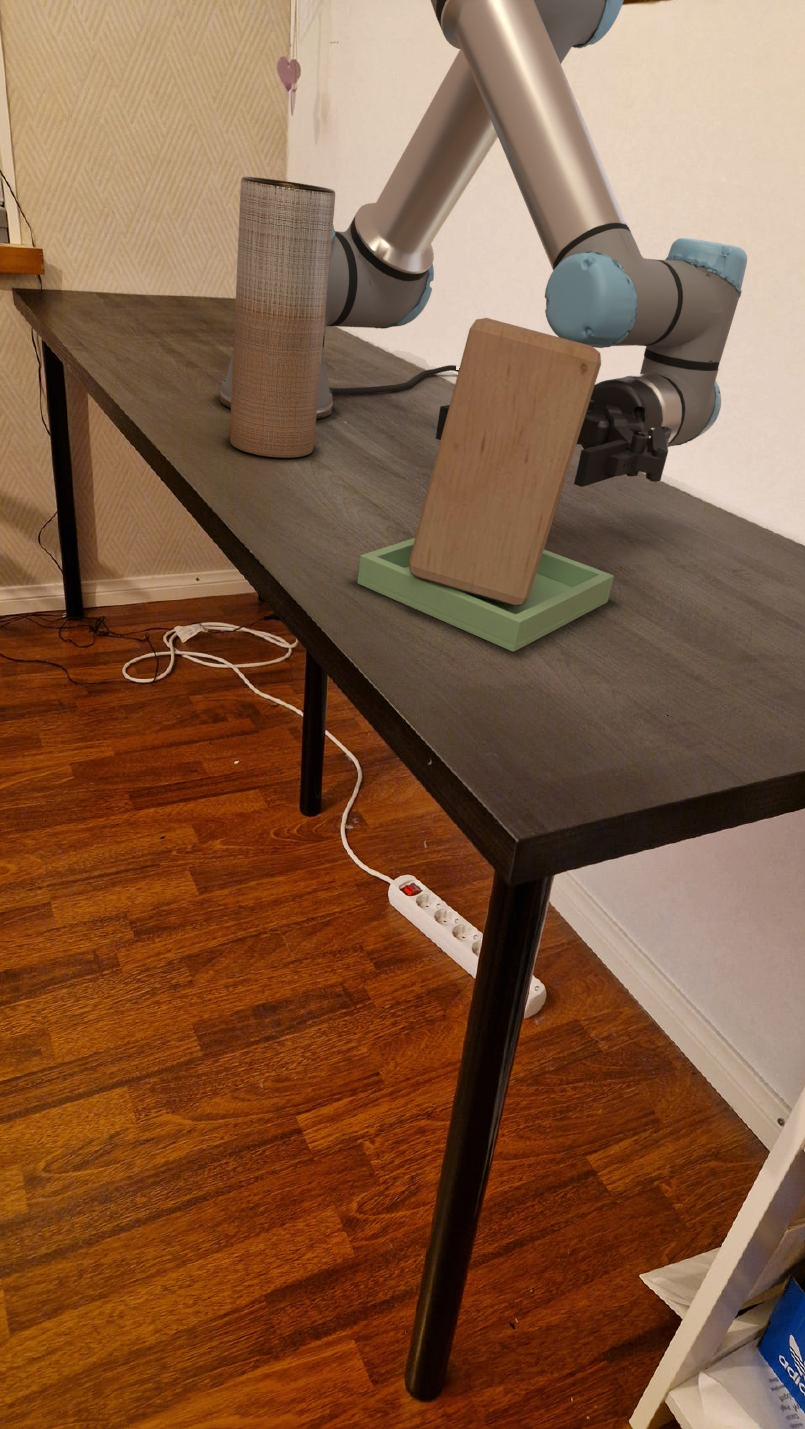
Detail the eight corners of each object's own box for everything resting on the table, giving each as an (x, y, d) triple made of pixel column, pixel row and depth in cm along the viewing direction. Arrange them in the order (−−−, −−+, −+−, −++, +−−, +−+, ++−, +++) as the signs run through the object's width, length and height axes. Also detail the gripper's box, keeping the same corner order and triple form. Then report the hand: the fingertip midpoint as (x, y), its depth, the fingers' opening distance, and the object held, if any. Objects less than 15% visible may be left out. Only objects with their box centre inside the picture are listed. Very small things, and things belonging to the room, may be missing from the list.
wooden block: (524, 612, 76) (605, 349, 69) (403, 576, 77) (471, 313, 70) (531, 588, 85) (603, 355, 78) (423, 557, 86) (485, 323, 79)
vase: (212, 443, 113) (221, 174, 99) (264, 431, 121) (279, 179, 107) (279, 464, 109) (298, 188, 95) (329, 450, 117) (353, 192, 103)
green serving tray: (462, 546, 94) (467, 520, 93) (607, 602, 86) (614, 575, 85) (356, 583, 82) (360, 555, 81) (513, 652, 75) (519, 622, 73)
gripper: (737, 493, 89) (635, 537, 73) (511, 424, 101) (384, 450, 86) (763, 410, 85) (661, 439, 70) (525, 349, 97) (394, 362, 82)
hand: (508, 445), depth 78 cm, fingers open, 13 cm apart
